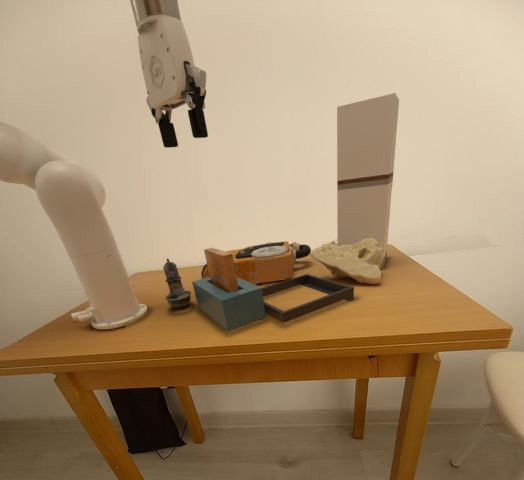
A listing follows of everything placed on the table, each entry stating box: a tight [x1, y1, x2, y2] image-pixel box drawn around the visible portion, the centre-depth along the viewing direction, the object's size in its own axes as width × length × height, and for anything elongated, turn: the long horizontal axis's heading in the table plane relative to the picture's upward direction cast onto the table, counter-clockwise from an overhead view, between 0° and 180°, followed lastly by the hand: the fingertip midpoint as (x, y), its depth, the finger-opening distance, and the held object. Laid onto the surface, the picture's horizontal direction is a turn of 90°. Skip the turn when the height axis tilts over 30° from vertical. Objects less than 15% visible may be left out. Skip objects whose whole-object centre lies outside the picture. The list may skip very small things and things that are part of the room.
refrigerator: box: [336, 92, 400, 270], centre depth 73 cm, size 11×11×35 cm
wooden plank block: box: [203, 247, 239, 293], centre depth 59 cm, size 10×2×12 cm, turn 31°
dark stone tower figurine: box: [162, 257, 192, 310], centre depth 66 cm, size 6×6×12 cm
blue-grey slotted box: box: [191, 277, 267, 332], centre depth 61 cm, size 8×16×7 cm, turn 31°
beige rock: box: [309, 238, 384, 285], centre depth 71 cm, size 15×7×15 cm
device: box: [200, 240, 312, 285], centre depth 83 cm, size 23×8×30 cm
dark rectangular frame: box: [261, 273, 355, 323], centre depth 63 cm, size 18×16×3 cm
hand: (185, 142), depth 58 cm, fingers open, 9 cm apart
